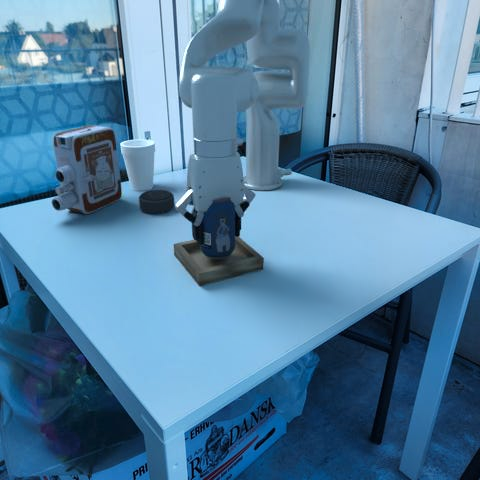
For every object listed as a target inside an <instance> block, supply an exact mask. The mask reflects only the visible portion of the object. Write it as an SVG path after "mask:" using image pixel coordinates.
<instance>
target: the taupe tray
mask: <svg viewBox="0 0 480 480" xmlns="http://www.w3.org/2000/svg"><path fill="white" fill-rule="evenodd" d="M173 255H174V256H175V258H176V259H177V260H178V261H179V263H180V264H181V265H182V267H183V268H184V269H185V271H186V272H187V273H188V274H189V275H190V276H191V277H192V280H194V281H195V283H196V285H198V287H201V286H204V285H205V286H206V285H209V284H212V283H216V282H219V281H223V280H227V279H231V278H235V277H239V276H243V275H246V274H251V273H254V271H255V272H259V271H262V270H264V269H265V268H264V267H265V265H264V263H265V262H264V261H265V259H264V257H263V256H262V255H261V254H260V253H259V252H257V251H256V250H255V249H254V248H253V247H252V246H250V245H249V244H248V243H247V242H246V241H244V239H242V238H241V237H240V236H239V237H236V236H235V249H234V251H233V252H232V254H231V255H230V256H228V257H226V258H223V259H212V258H208V257H206V256H205V255H204V254H203V252H202V251H201V249H200V244H199V243H198V242H197V241H196V240H194V239H190V240H185V241H181V242H177V243H173ZM258 270H259V271H258Z"/></svg>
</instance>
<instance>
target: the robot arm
mask: <svg viewBox="0 0 480 480" xmlns="http://www.w3.org/2000/svg"><path fill="white" fill-rule="evenodd" d="M244 43H246V55H247V61H248V63H249V64H250V66H251V67H253V68H256V69H262V71H254V72H253V71H251V70H250V69H248V68H245V67H238V66H237V67H236V66H212V65H211V66H209V65H208V66H206V64H207V63H208V62H209V61H210V60H211V59H212V58H214V57H216V56H217V55H219V54H220V53H222V52H223V53H224V52H225V51H227V50H230V49H232V48H235V47H237V46H240V45H242V44H244ZM310 46H311V45H310V39H309V36H308V33H307V32H306V31H305V30H303V29H301V28H295V27H294V28H289V27H288V28H287V27H286V28H285V27H284V28H282V27H281V7H280V4H279V2H278V0H218V4H217V10H216V14H215V15H214V16H213V17H212V18H211V19H209V20H208V21H207V22H206V23H205V24H203V26H201V27H200V29H199V30H198V31H197V32H195V34H194V35H193V36H192V38H191V39H190V40H189V42H188V43H187V46H186V48H185V50H184V54H183V57H182V62H181V63H182V64H181V67H180V72H179V73H180V74H179V79H178V80H179V81H178V93H179V97H180V101H181V102H182V103H183V105H185V106H186V107H187V108H190V109H191V110H192V113H191V115H192V131H193V132H192V135H193V137H192V139H193V153H191V154H190V155H189V157H188V163H187V171H186V172H187V173H186V193H184V195H183V196H182V197H181V198H180V199H179V200H178V201H177V202H176V204H174V209H175V210H176V211H177V212H178V213H179V214H181V215H182V216H183V218H185V219H186V220H188V222H190V223H191V234H192V235H191V236H192V240H196V241H197V242H198V243H199V244H200V245H203V244H204V229H203V225H202V224H201V221H202V219H203V216H204V213H203V212H206V211H207V209H208V208H209V207H210V205H211V204H212V203H213V202H212V201H219V200H225V199H228V198H231V199H230V200H231V201H232V202H233V203H234V204H235V236H236V237H240V236H241V230H242V218H243V217H244V216H245V213H246V211H247V210H248V209H249V207H250V204H251V203H252V201H253V200H254V199H255V197H256V193H255V192H254V191H255V190H256V191H270V190H276V189H279V188H281V187H282V186H283V182H284V181H283V179H282V178H283V176H284V177H285V176H291V175H292V173H293V171H292V169H291V168H285V169H284V168H282V167H279V156H280V155H279V152H280V134H281V133H280V131H281V125H280V122H279V119H278V118H277V116H276V114H275V112H274V111H273V110H299V109H302V108H304V107H305V105H306V104H307V100H308V95H309V93H308V92H309V77H310V53H311V52H310V50H311V49H310ZM263 69H264V71H263ZM266 70H268V71H266ZM269 70H288V72H287V71H269ZM244 111H245V112H246V114H245V115H246V121H245V122H246V126H245V127H246V130H245V131H246V133H245V134H246V135H245V137H246V139H245V143H246V145H245V175H244V171H243V170H244V169H243V163H242V159H241V155H240V153H239V152H238V147H239V146H243V144H244V140H243V138H242V137H238V135H237V134H238V133H237V131H238V130H237V127H238V126H237V122H238V121H237V118H238V117H237V112H244ZM252 190H254V191H252ZM187 206H192V210H191V212H190V211H188V210H187V209H186V208H187Z"/></svg>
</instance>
